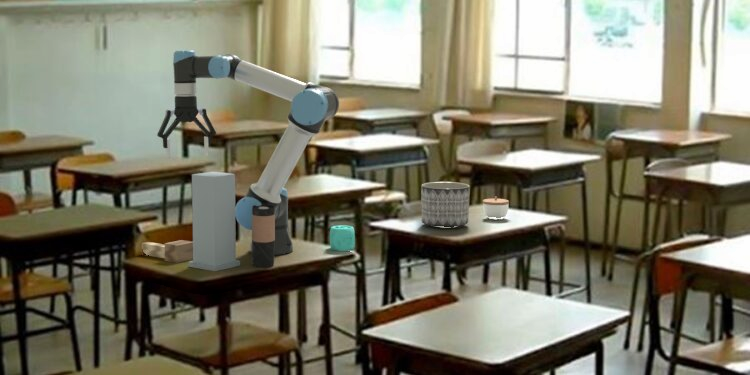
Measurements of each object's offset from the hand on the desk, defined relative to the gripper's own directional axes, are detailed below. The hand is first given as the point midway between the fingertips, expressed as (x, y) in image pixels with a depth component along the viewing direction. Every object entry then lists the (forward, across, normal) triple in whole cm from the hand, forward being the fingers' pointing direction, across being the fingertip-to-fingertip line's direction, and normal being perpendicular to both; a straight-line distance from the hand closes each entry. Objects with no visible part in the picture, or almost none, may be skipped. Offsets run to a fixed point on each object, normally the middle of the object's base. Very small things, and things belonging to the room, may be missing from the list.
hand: (187, 156), depth 427 cm
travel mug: (+35, -18, +28) cm, 48 cm away
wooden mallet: (+34, +9, +4) cm, 36 cm away
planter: (+36, -108, -18) cm, 115 cm away
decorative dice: (+36, -53, +11) cm, 65 cm away
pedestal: (+35, -2, +23) cm, 42 cm away
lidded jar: (+36, -135, -26) cm, 142 cm away
